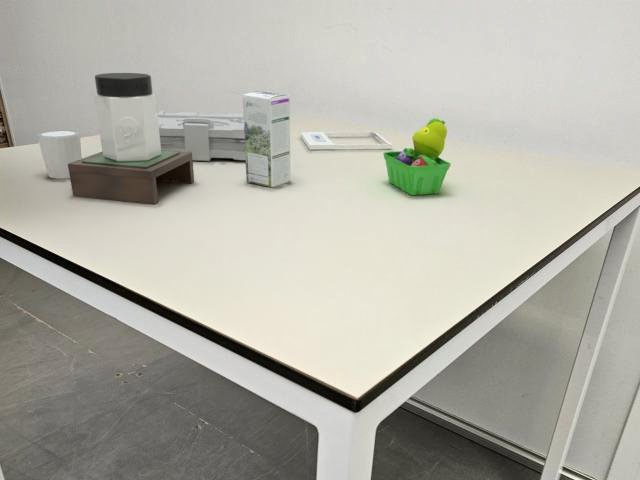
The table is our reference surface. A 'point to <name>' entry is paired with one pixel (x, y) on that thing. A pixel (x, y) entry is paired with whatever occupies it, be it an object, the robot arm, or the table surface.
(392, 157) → the fruit basket
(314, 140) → the photo frame
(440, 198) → the table surface
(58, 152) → the white cup
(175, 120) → the grey plastic tool case
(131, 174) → the shelf
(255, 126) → the syrup box
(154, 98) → the jar
